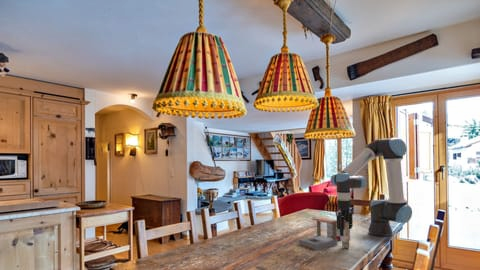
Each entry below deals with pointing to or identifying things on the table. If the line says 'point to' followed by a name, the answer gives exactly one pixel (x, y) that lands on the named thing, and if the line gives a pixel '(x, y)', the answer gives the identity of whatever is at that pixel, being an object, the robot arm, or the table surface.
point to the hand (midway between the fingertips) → (345, 240)
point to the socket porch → (320, 241)
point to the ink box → (330, 231)
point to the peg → (346, 235)
